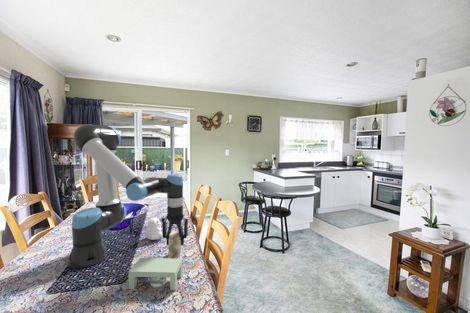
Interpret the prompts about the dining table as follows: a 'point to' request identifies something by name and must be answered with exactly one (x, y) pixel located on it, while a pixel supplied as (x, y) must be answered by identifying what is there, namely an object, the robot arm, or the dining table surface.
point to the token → (158, 282)
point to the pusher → (174, 245)
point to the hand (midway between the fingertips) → (175, 251)
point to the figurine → (153, 229)
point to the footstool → (156, 270)
